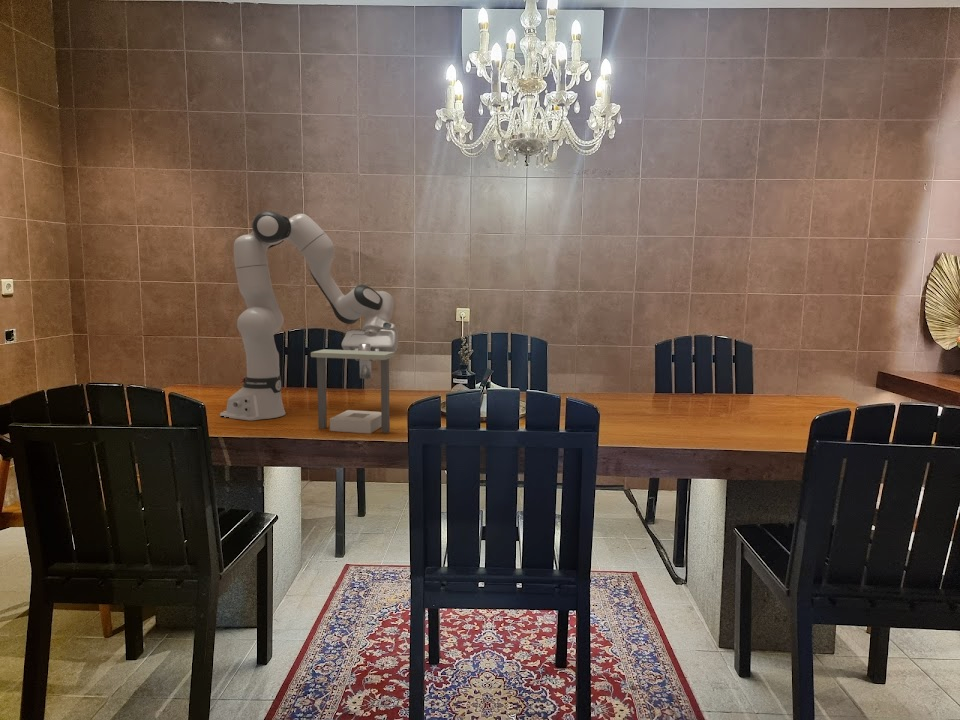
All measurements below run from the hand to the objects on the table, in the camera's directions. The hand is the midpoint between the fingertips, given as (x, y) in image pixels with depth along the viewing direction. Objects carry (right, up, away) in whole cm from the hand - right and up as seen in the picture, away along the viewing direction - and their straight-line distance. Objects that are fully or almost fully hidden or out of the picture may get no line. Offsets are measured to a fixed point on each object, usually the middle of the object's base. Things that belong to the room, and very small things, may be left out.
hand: (364, 360), depth 224 cm
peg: (0, -6, +1) cm, 6 cm away
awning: (-1, -23, -15) cm, 27 cm away
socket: (0, -22, -11) cm, 25 cm away
